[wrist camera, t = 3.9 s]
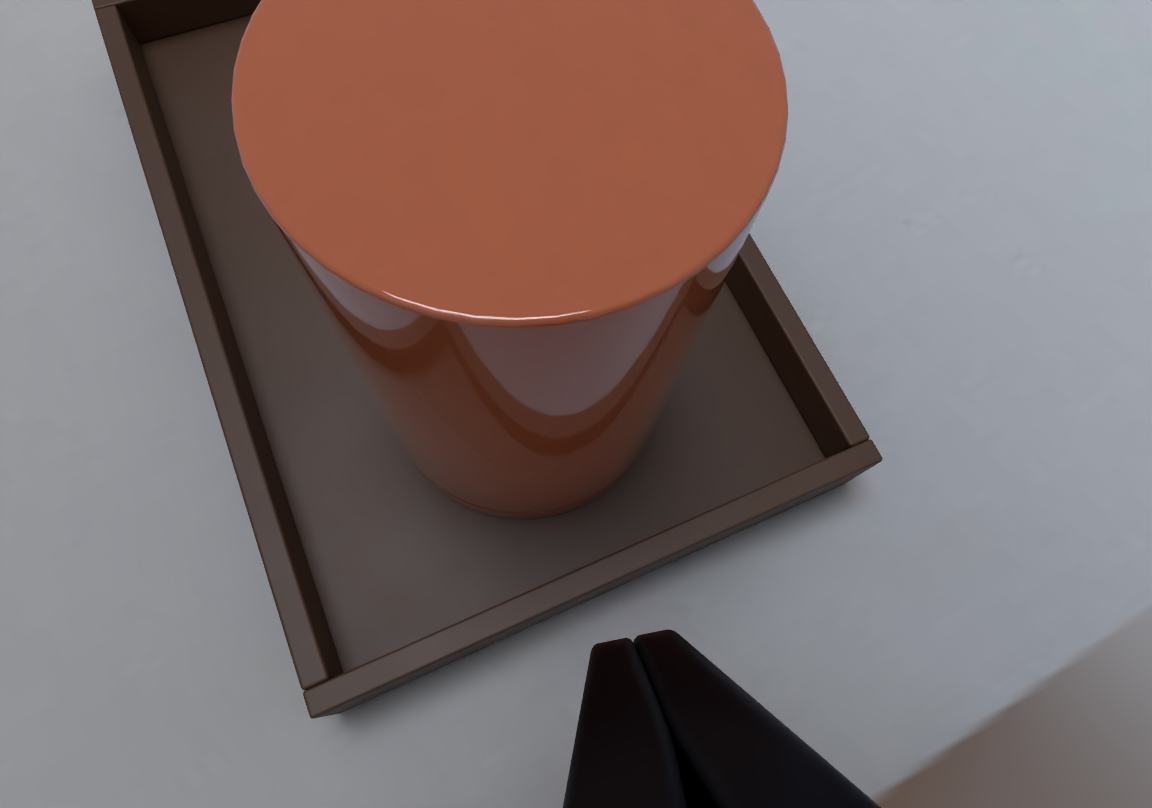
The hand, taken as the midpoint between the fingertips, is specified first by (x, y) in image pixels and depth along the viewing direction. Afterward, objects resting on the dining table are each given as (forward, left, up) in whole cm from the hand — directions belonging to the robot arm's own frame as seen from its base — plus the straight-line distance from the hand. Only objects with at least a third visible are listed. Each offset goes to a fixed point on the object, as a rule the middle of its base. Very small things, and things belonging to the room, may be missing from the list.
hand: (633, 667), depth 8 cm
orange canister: (+7, -2, -10) cm, 13 cm away
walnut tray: (+12, -2, -11) cm, 17 cm away
